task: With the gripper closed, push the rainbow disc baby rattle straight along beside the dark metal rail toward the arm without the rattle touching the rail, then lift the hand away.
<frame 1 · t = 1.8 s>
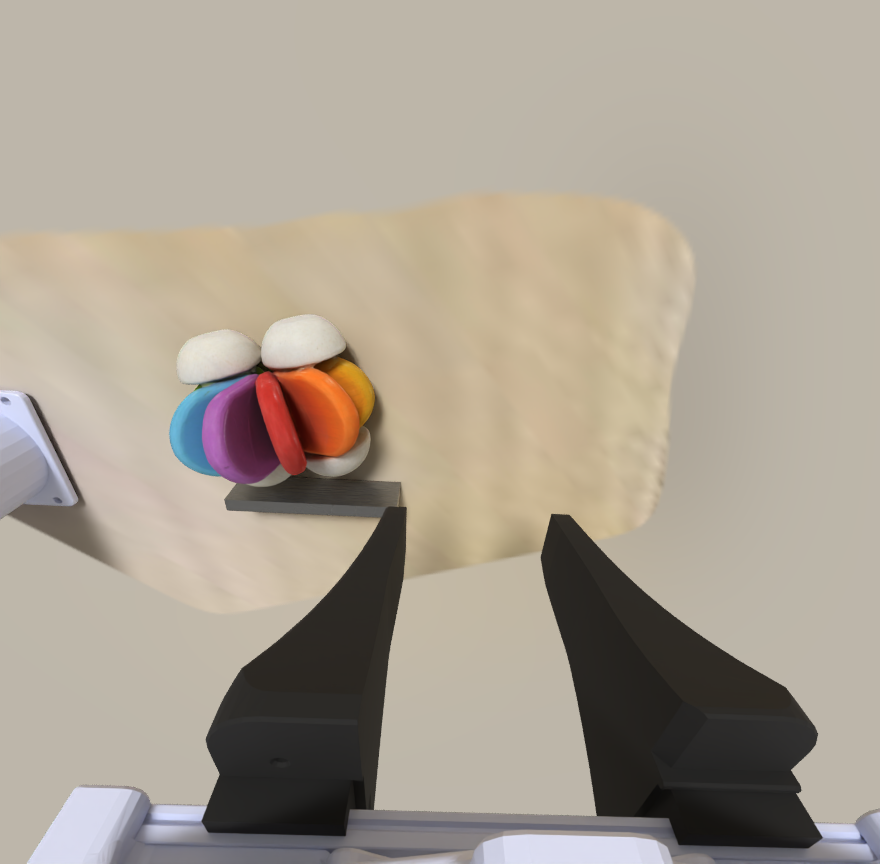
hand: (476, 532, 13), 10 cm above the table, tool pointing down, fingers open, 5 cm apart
rainbow disc baby rattle: (296, 389, 23), on the table
rail: (322, 483, 25), on the table
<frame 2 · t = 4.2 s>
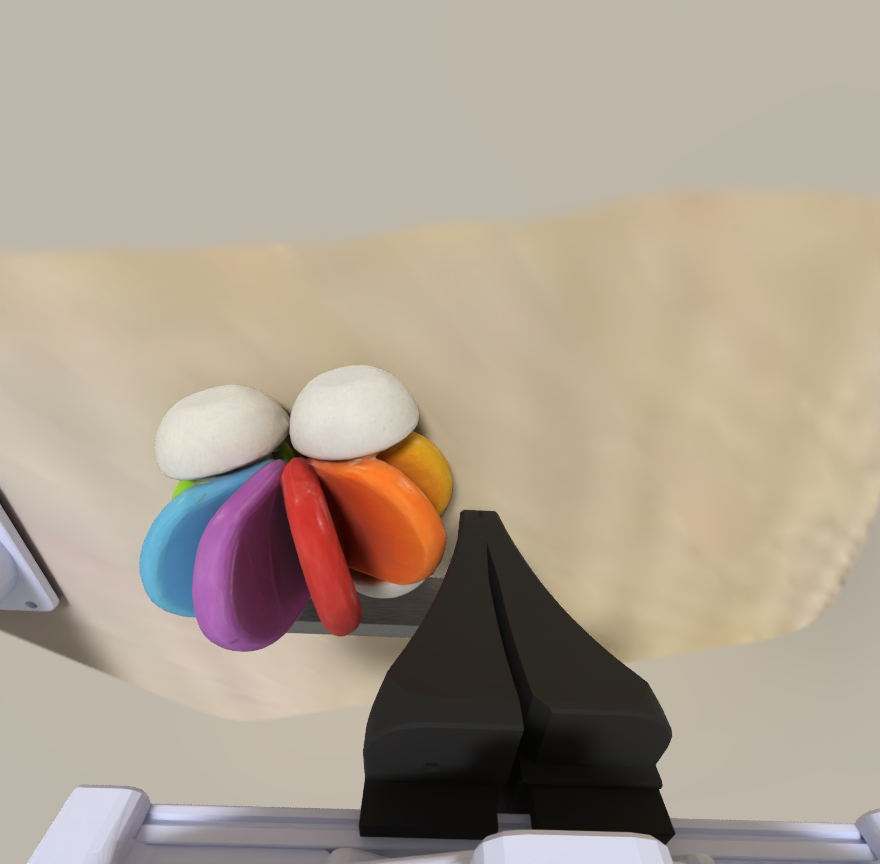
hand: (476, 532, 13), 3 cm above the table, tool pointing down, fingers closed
rainbow disc baby rattle: (331, 461, 16), on the table, touching gripper
rail: (387, 582, 19), on the table
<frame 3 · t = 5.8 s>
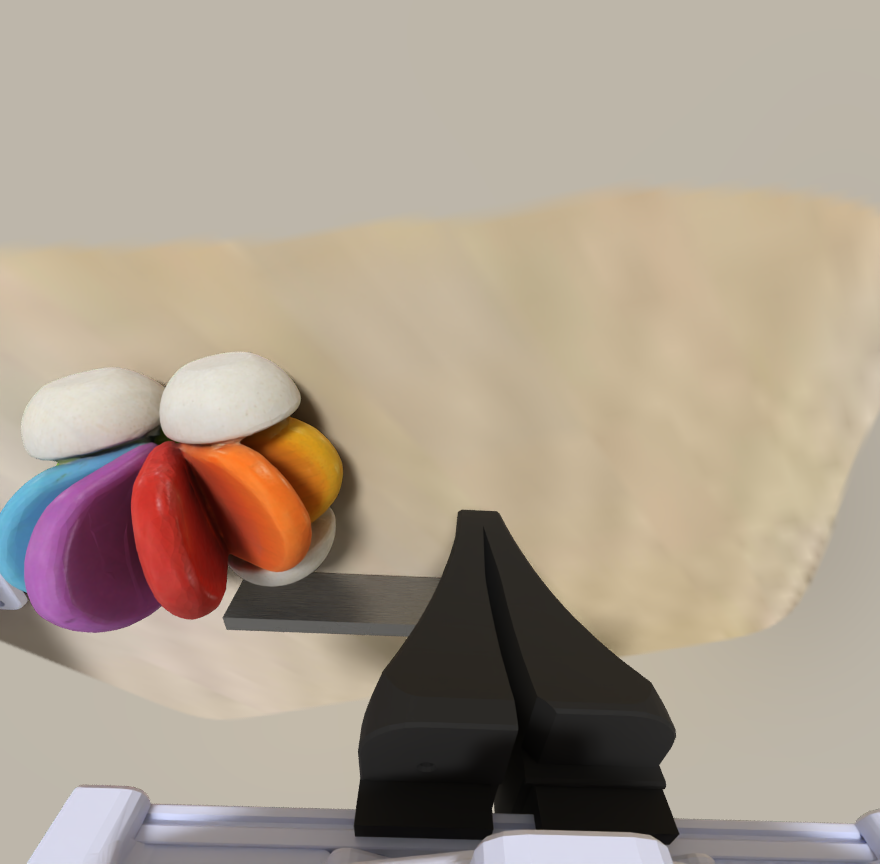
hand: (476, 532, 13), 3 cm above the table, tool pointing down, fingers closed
rainbow disc baby rattle: (232, 449, 16), on the table
rail: (355, 580, 19), on the table
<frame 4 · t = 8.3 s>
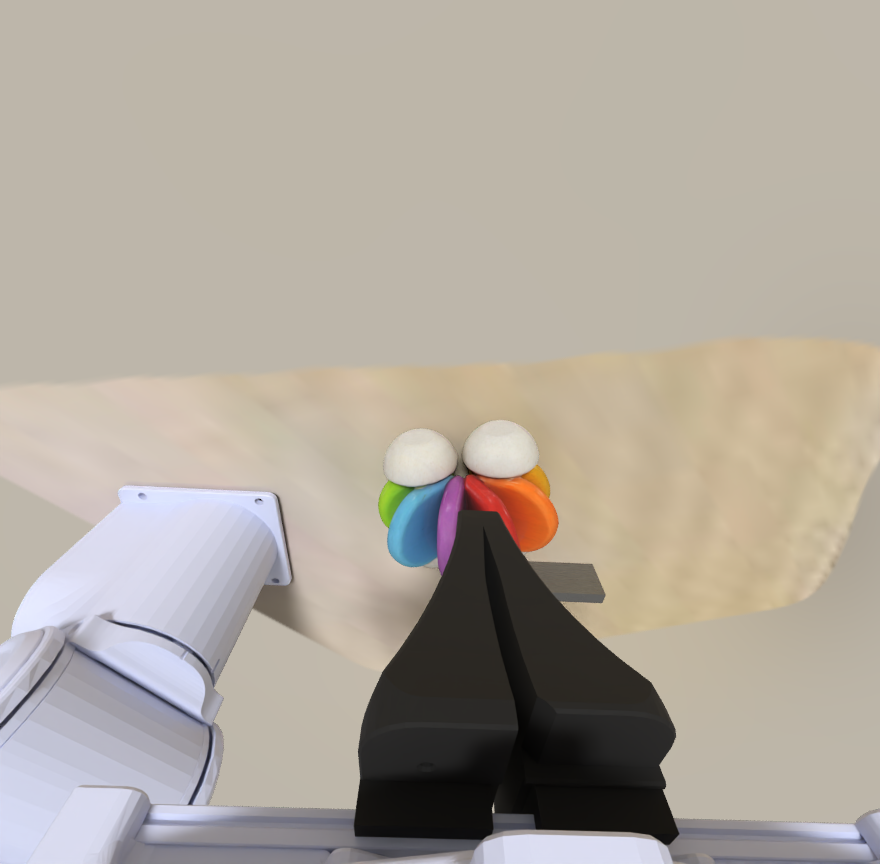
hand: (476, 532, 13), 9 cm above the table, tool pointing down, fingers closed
rainbow disc baby rattle: (462, 474, 24), on the table
rail: (520, 565, 27), on the table
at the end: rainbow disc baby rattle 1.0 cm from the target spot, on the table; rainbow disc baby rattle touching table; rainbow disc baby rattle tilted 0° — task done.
